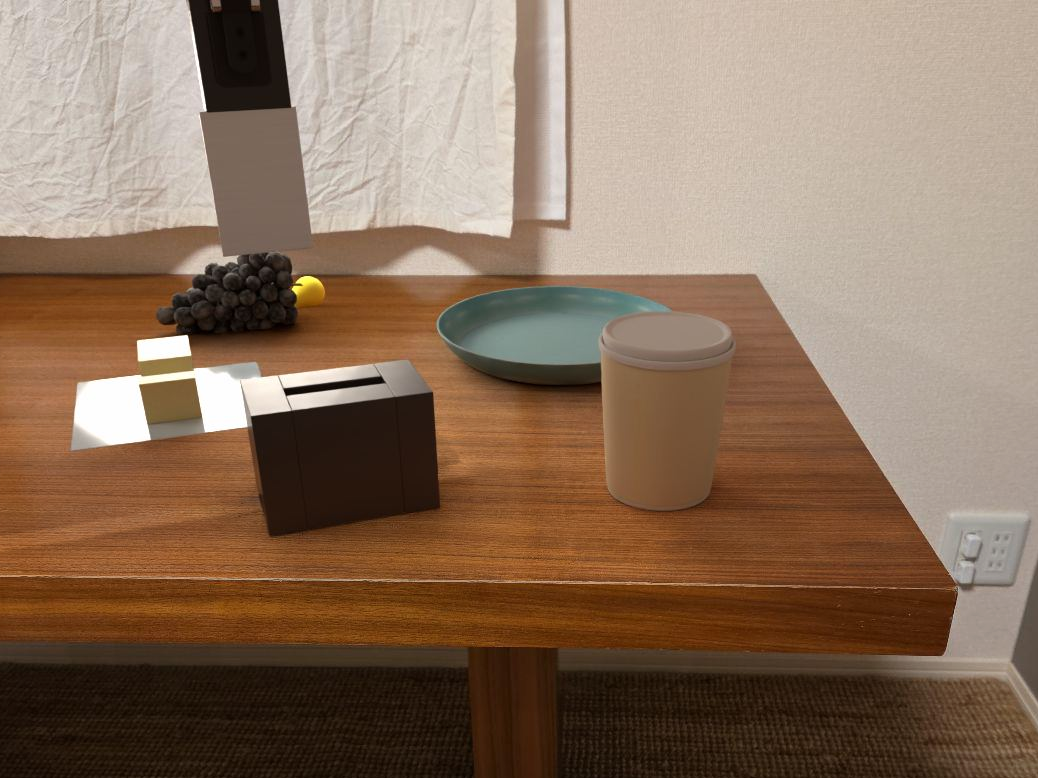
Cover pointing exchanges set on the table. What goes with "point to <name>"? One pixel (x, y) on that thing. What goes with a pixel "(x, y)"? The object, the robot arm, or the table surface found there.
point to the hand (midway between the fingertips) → (242, 81)
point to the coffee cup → (663, 406)
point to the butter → (164, 356)
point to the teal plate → (537, 331)
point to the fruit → (236, 296)
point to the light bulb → (309, 292)
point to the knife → (252, 148)
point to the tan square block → (170, 397)
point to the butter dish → (121, 419)
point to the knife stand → (342, 445)
